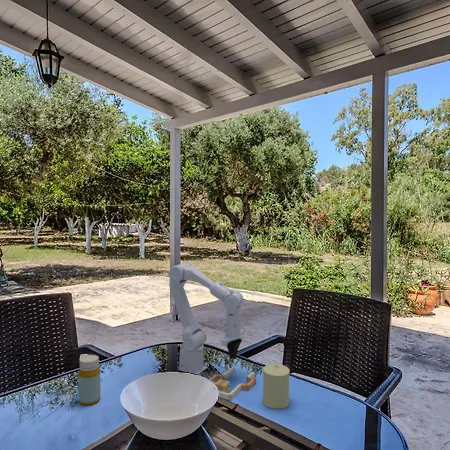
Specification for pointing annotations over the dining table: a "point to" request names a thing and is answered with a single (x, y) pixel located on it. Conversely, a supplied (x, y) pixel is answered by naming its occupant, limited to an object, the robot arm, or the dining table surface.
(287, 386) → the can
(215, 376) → the cream and orange frame
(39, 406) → the dining table surface
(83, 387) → the bottle
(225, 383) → the block
